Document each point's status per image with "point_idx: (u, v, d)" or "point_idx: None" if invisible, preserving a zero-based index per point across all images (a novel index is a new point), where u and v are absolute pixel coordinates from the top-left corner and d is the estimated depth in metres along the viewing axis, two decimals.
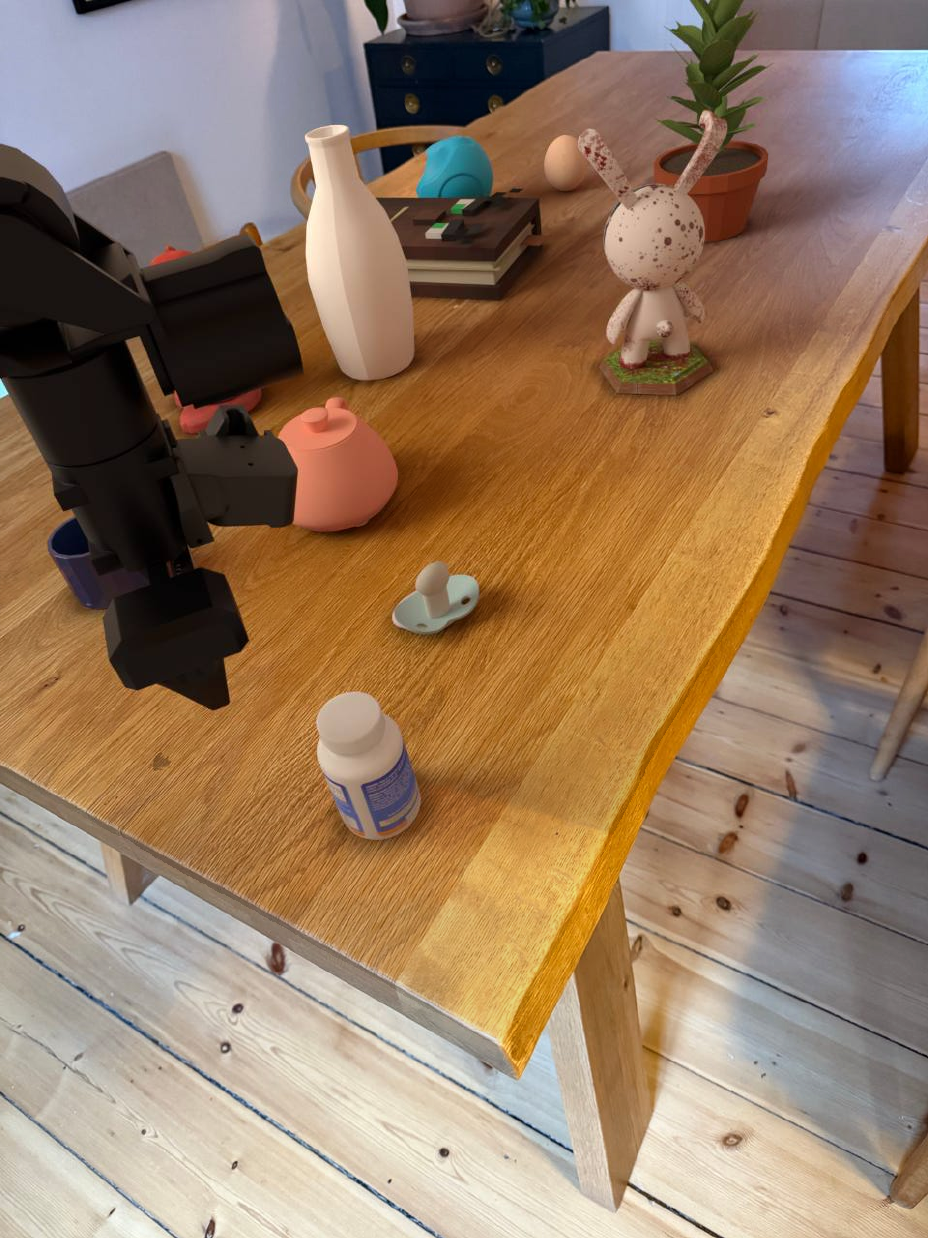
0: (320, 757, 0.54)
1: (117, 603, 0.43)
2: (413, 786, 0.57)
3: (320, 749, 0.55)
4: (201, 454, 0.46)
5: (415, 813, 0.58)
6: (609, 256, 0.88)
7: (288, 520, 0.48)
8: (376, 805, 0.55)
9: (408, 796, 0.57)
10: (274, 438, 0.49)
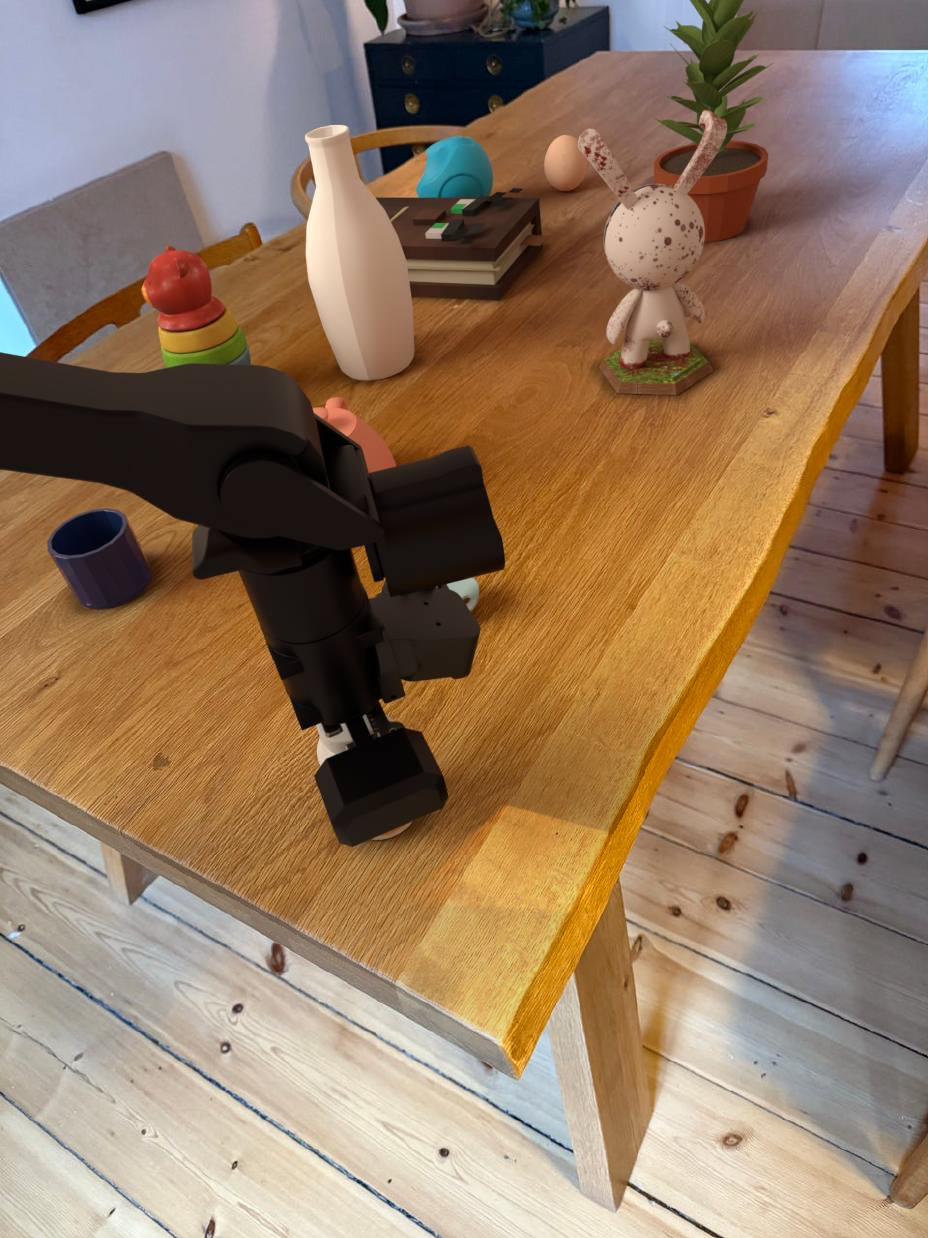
0: (320, 757, 0.54)
1: (330, 764, 0.46)
2: None
3: (320, 749, 0.55)
4: (393, 615, 0.50)
5: None
6: (609, 256, 0.88)
7: (468, 672, 0.52)
8: None
9: None
10: (450, 591, 0.53)
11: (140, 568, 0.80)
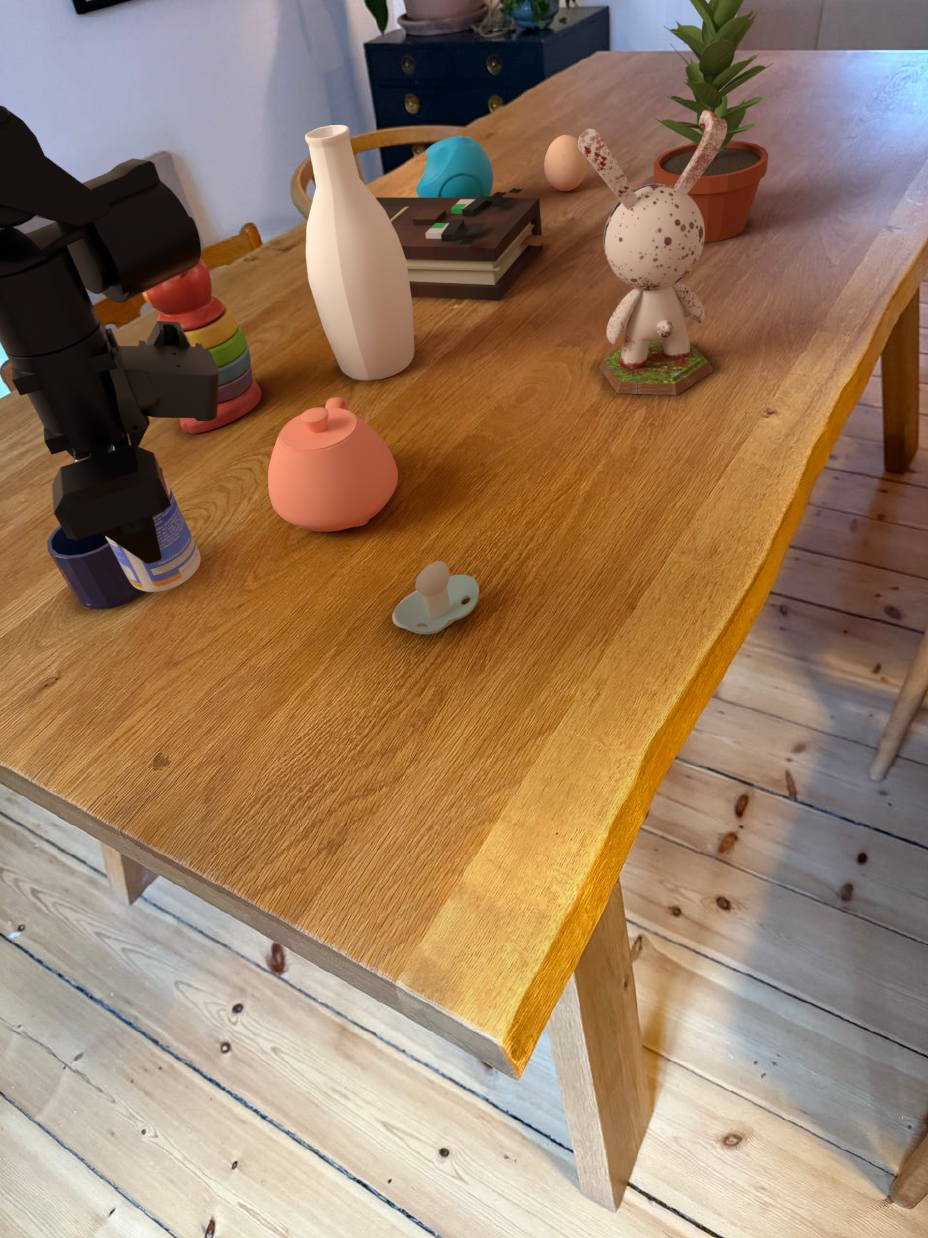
0: None
1: (63, 470, 0.52)
2: (186, 541, 0.64)
3: None
4: (138, 357, 0.56)
5: (191, 569, 0.64)
6: (609, 256, 0.88)
7: (211, 415, 0.58)
8: None
9: (179, 548, 0.63)
10: (203, 349, 0.59)
11: None
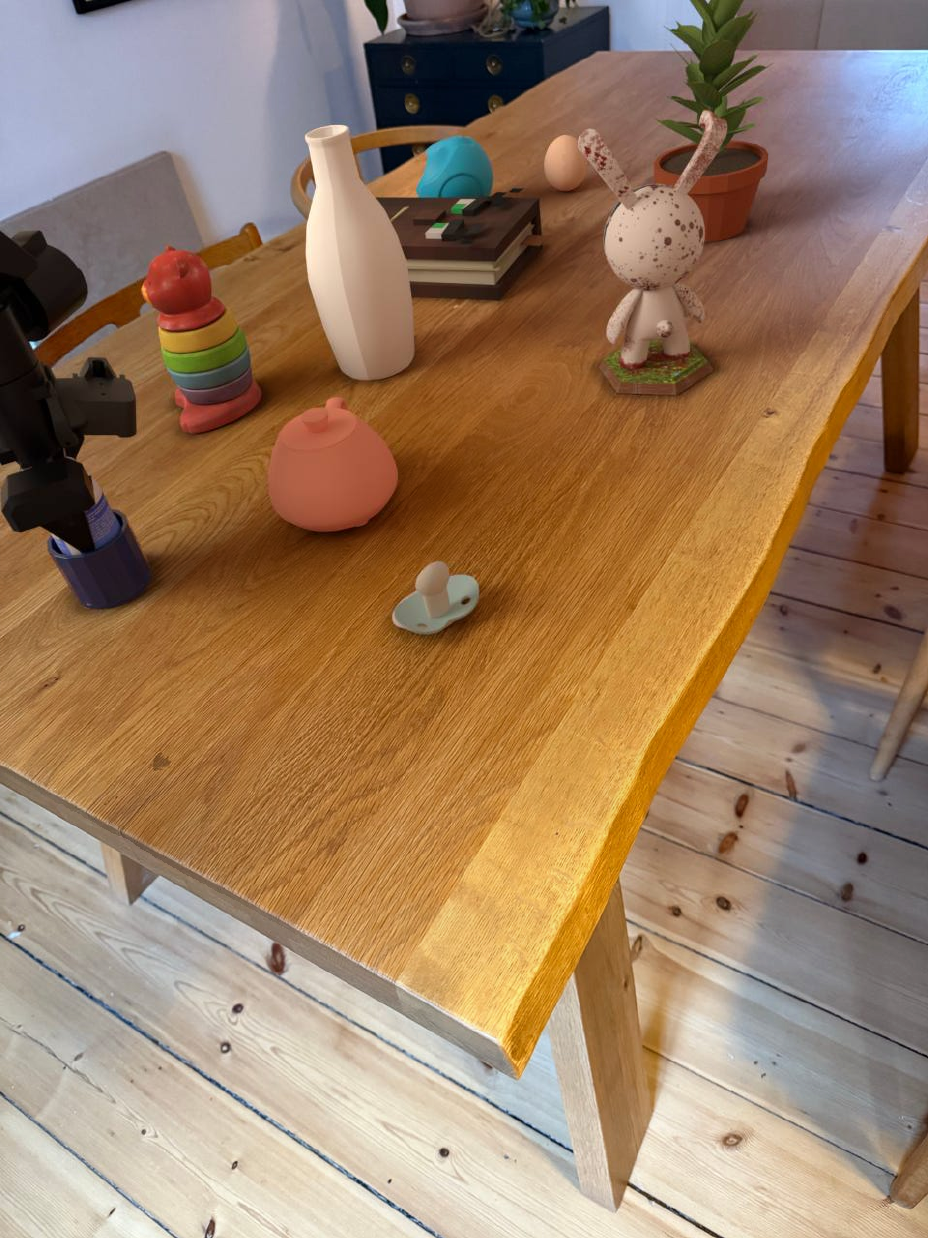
0: None
1: (9, 478, 0.67)
2: (116, 535, 0.78)
3: None
4: (70, 387, 0.70)
5: None
6: (609, 256, 0.88)
7: (131, 433, 0.72)
8: None
9: (110, 540, 0.77)
10: (125, 379, 0.74)
11: (140, 568, 0.80)
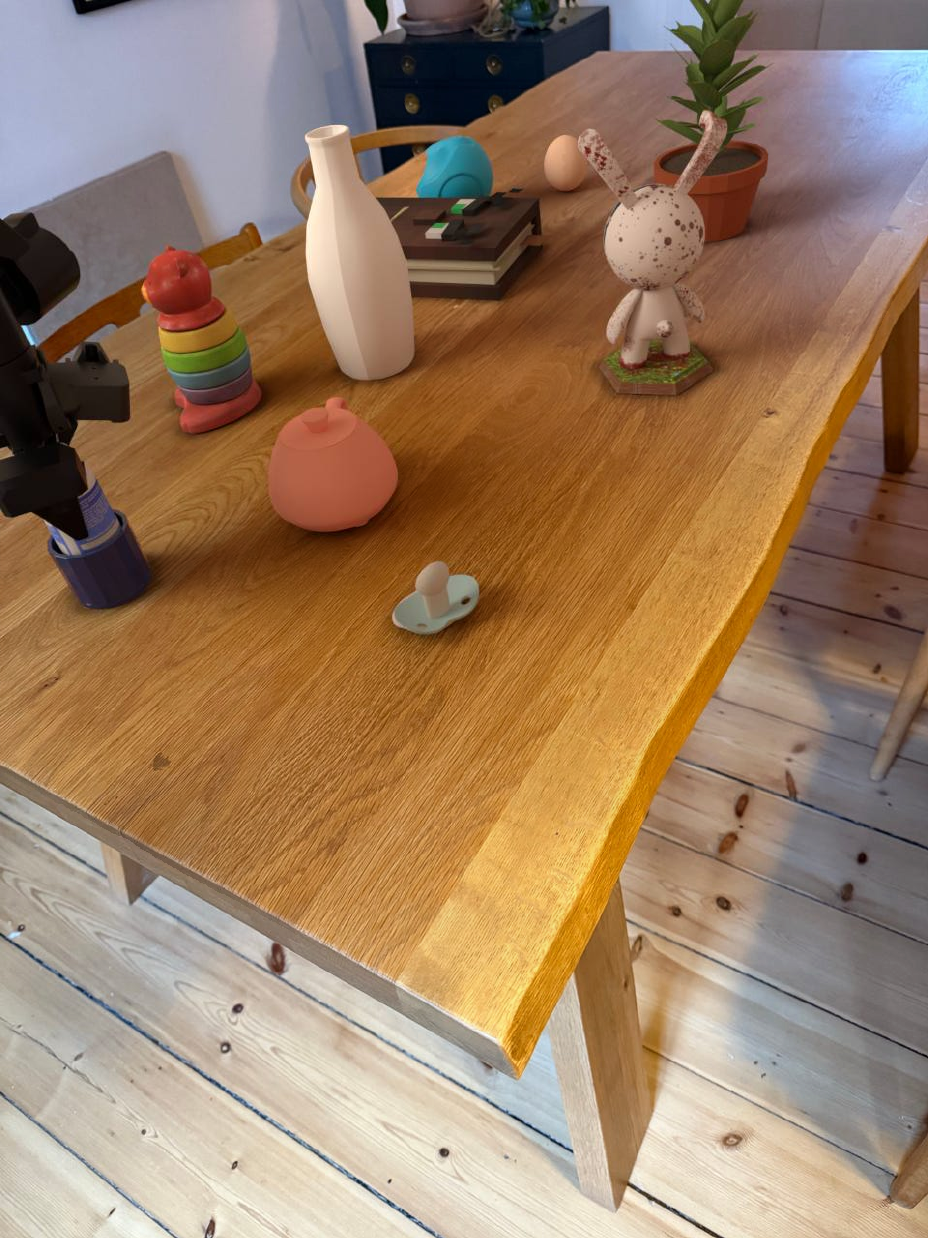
0: None
1: (0, 462, 0.66)
2: (110, 522, 0.77)
3: None
4: (63, 371, 0.70)
5: None
6: (609, 256, 0.88)
7: (124, 418, 0.71)
8: None
9: (104, 528, 0.76)
10: (118, 364, 0.73)
11: (140, 568, 0.80)
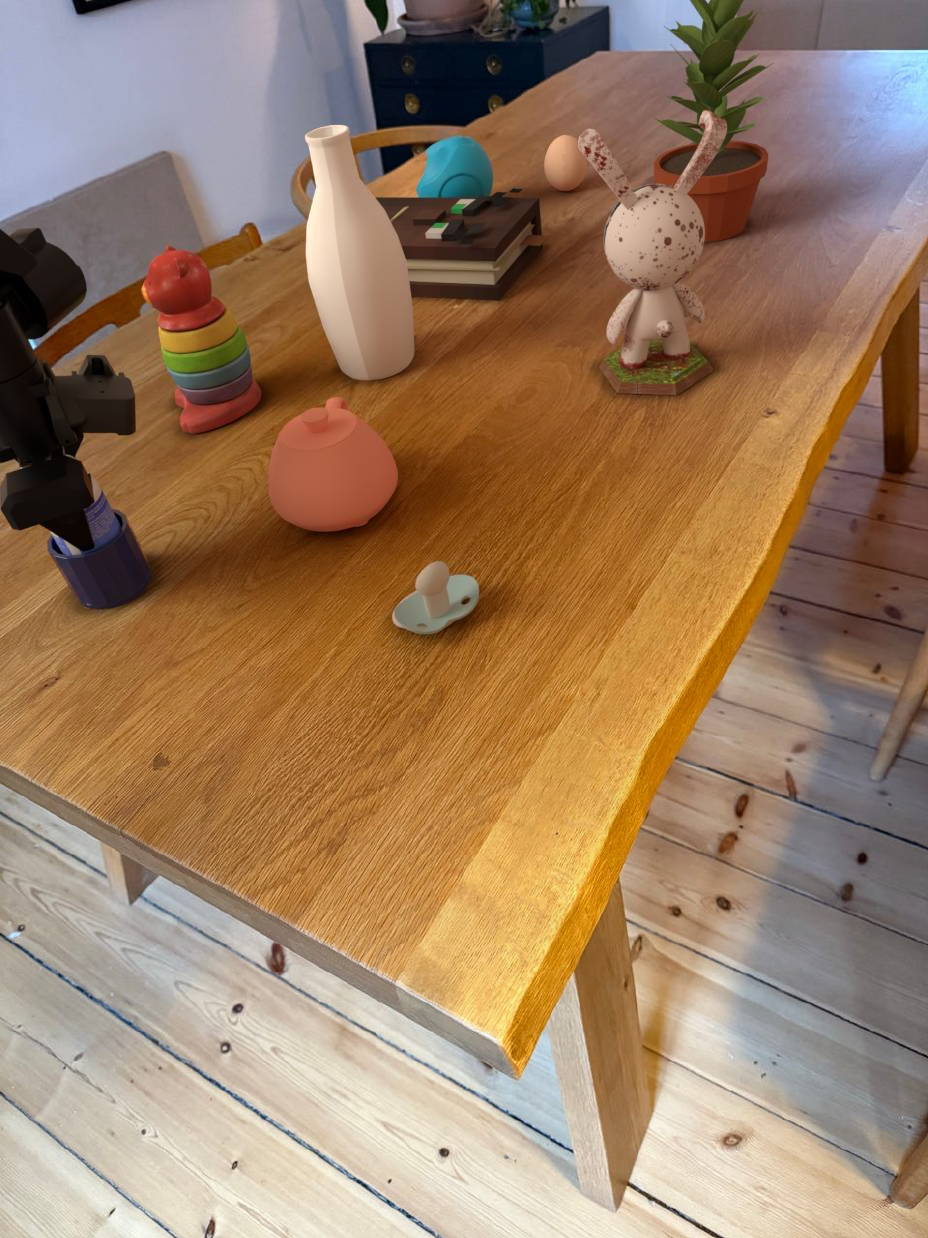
0: None
1: (8, 476, 0.67)
2: (116, 533, 0.78)
3: None
4: (69, 385, 0.70)
5: None
6: (609, 256, 0.88)
7: (130, 430, 0.72)
8: None
9: (110, 538, 0.77)
10: (124, 377, 0.73)
11: (140, 568, 0.80)
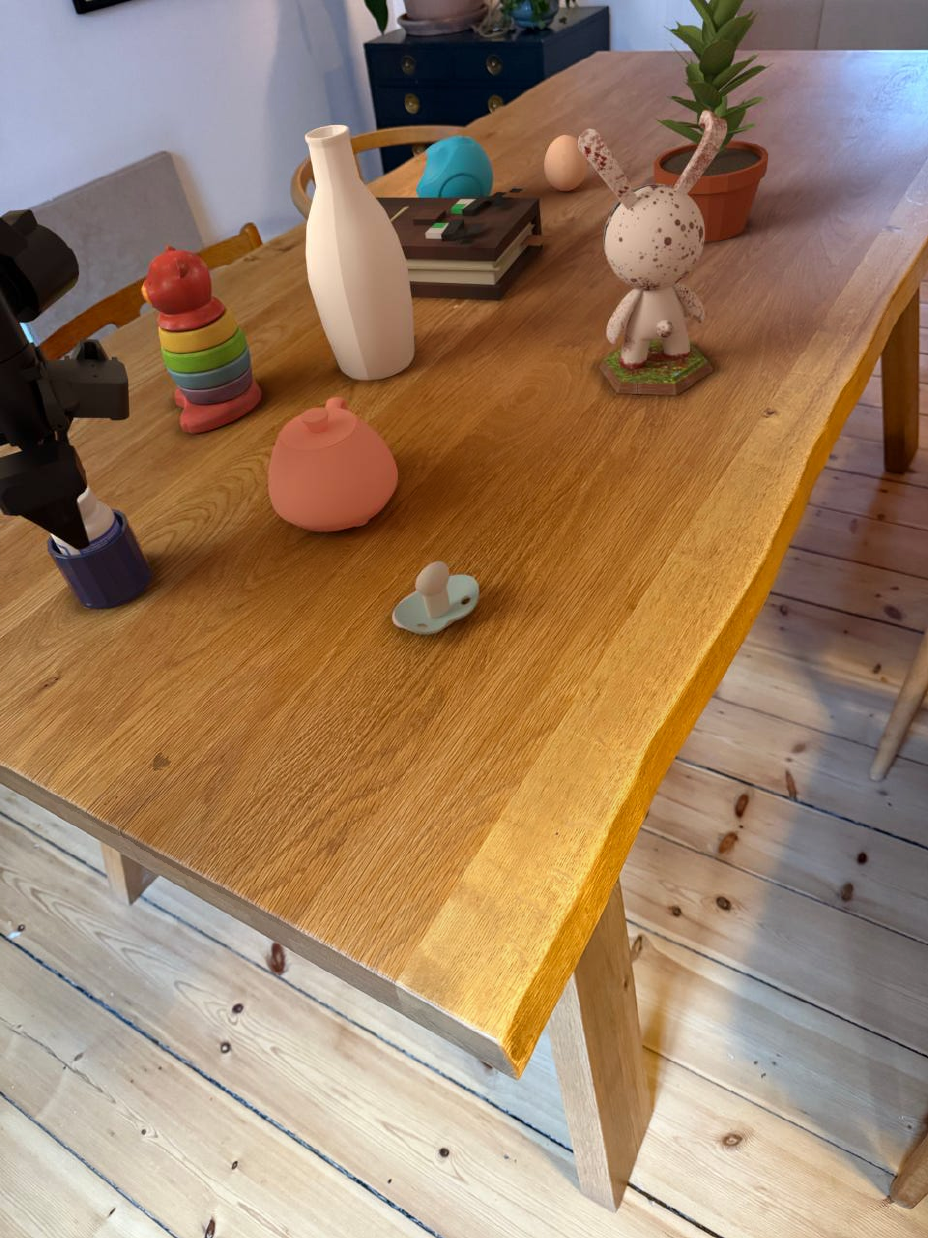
0: None
1: None
2: None
3: None
4: (62, 369, 0.69)
5: None
6: (609, 256, 0.88)
7: (123, 415, 0.71)
8: None
9: None
10: (117, 361, 0.72)
11: (140, 568, 0.80)
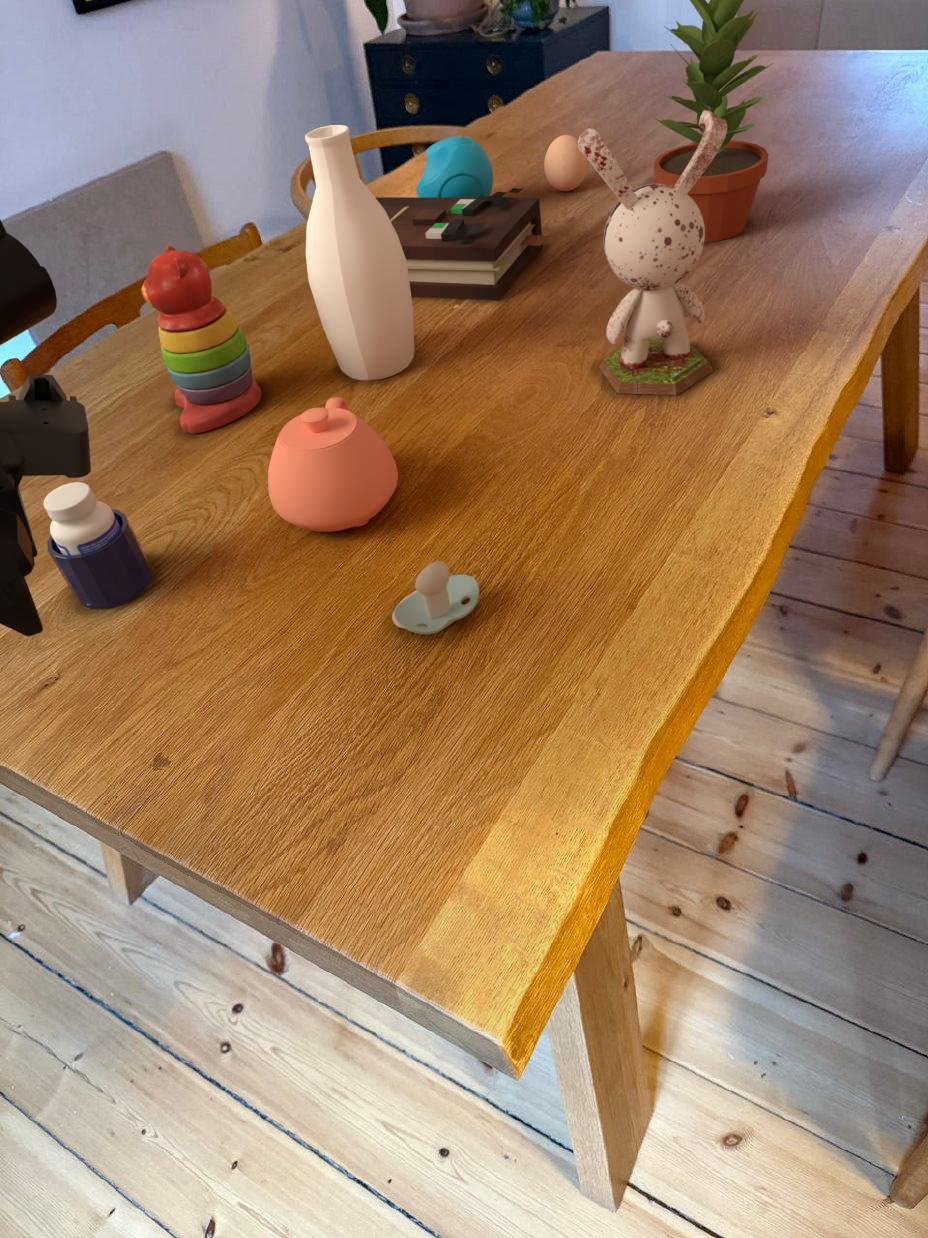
0: (50, 528, 0.76)
1: None
2: None
3: (51, 523, 0.76)
4: (3, 414, 0.55)
5: None
6: (609, 256, 0.88)
7: (83, 471, 0.56)
8: None
9: None
10: (76, 403, 0.58)
11: (140, 568, 0.80)
